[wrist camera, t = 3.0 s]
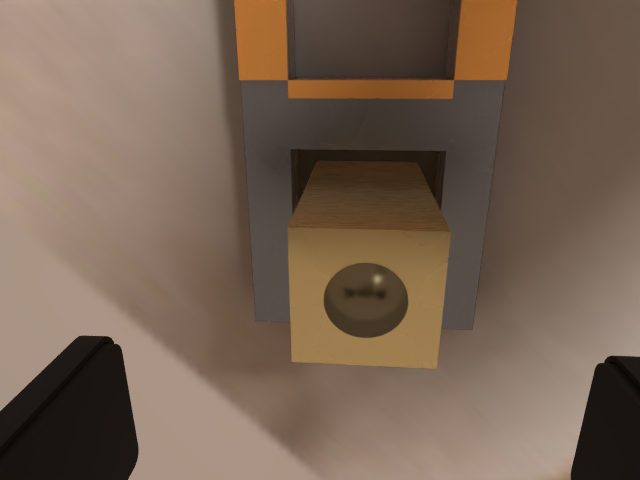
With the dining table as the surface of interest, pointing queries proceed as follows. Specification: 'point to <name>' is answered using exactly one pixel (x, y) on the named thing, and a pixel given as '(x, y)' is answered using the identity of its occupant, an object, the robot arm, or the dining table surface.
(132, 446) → the robot arm
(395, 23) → the dining table surface
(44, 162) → the dining table surface
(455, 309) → the rail
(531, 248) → the dining table surface
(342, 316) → the brass nut
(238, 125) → the dining table surface
